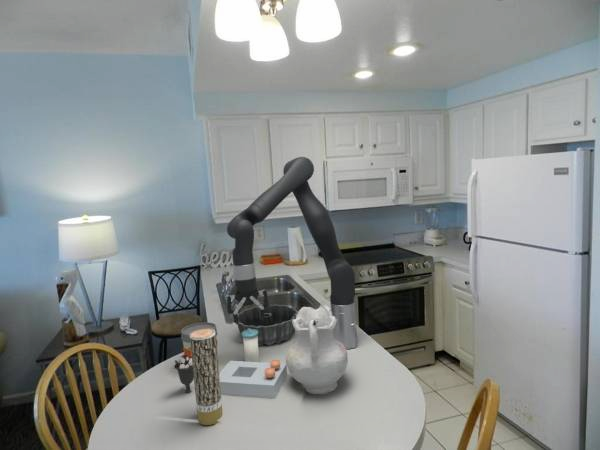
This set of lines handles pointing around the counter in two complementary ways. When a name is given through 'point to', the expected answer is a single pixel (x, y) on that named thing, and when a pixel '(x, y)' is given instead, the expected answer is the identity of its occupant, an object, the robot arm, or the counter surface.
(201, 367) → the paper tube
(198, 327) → the reusable coffee cup
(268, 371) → the plunger
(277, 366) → the plunger
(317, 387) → the ceramic pitcher
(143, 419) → the counter surface
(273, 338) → the bundt pan
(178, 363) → the sundae
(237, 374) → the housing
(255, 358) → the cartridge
